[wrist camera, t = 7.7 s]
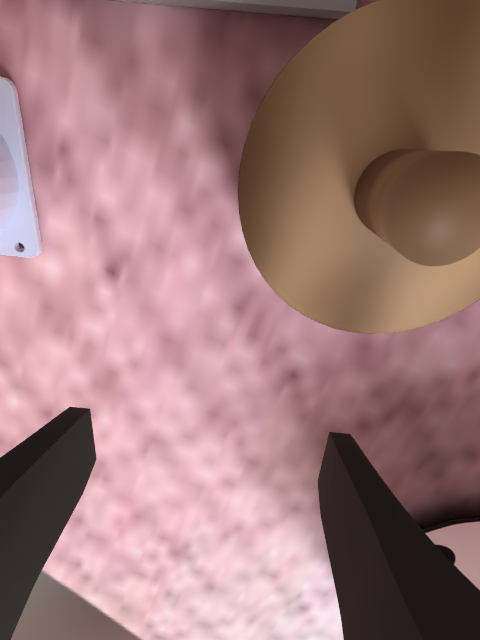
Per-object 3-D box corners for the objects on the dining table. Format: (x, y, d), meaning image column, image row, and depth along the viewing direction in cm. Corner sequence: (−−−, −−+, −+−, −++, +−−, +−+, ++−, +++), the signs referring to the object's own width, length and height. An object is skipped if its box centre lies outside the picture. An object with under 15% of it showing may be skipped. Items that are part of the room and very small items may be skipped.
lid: (236, 320, 17) (229, 381, 13) (241, -2, 12) (232, -85, 8) (494, 330, 16) (577, 396, 12) (612, 0, 11) (826, -86, 7)
